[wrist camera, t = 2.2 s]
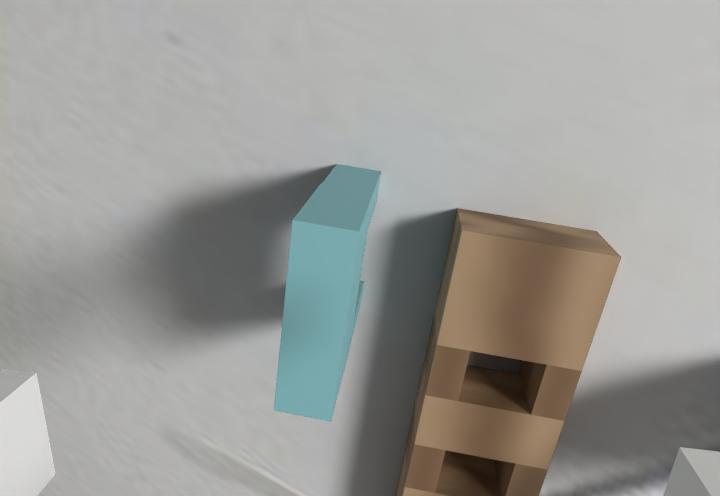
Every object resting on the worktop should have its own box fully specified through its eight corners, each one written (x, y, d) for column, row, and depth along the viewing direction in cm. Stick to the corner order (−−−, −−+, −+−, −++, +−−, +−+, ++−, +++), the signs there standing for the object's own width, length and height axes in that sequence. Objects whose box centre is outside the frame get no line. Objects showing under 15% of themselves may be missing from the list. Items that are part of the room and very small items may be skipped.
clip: (319, 301, 34) (273, 410, 24) (336, 162, 31) (292, 220, 20) (359, 308, 34) (331, 421, 24) (381, 169, 30) (359, 231, 20)
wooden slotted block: (391, 515, 39) (387, 563, 36) (457, 208, 31) (462, 230, 27) (498, 536, 39) (506, 588, 35) (596, 231, 30) (621, 257, 27)
